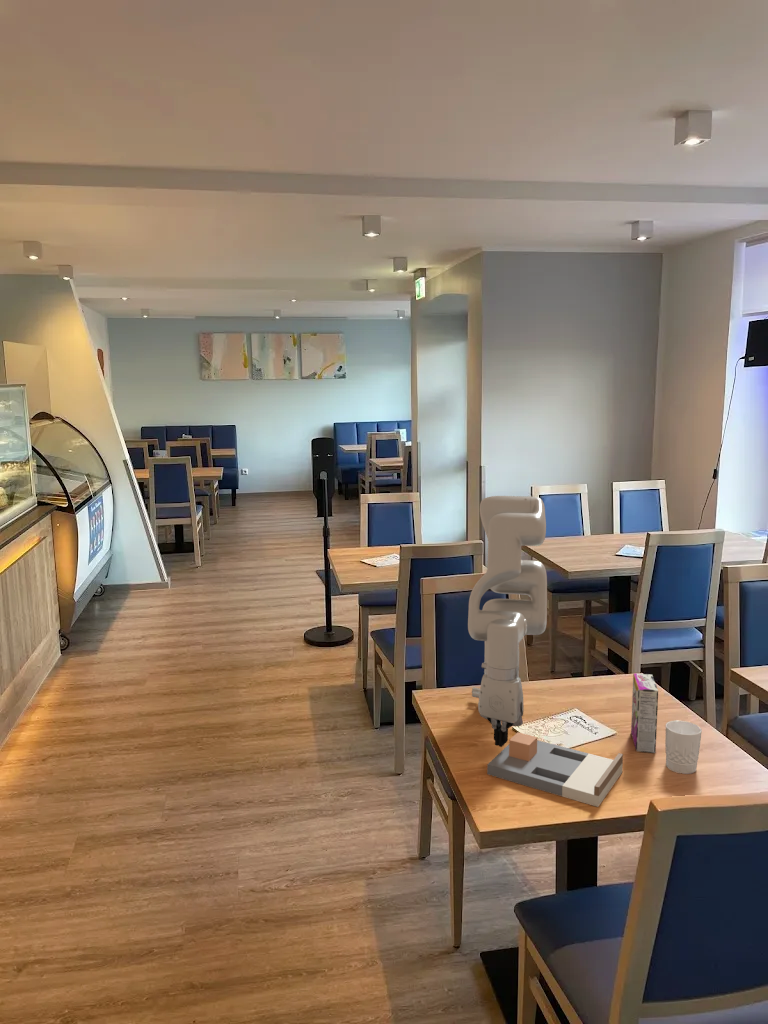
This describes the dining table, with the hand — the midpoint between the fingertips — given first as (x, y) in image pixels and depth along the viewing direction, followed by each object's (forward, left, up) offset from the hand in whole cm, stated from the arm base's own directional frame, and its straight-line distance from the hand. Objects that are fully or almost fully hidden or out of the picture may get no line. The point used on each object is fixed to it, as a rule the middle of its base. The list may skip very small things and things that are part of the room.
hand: (500, 743), depth 182 cm
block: (+6, 0, -1) cm, 6 cm away
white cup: (+38, +19, -4) cm, 42 cm away
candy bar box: (+27, +27, -4) cm, 38 cm away
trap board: (+14, 0, -4) cm, 14 cm away
